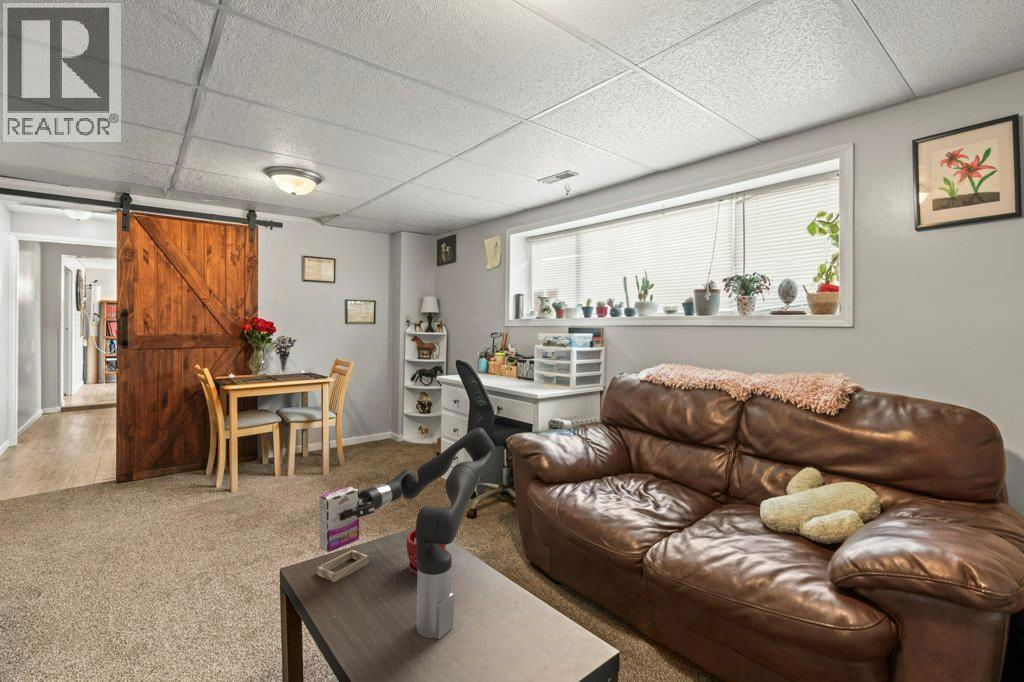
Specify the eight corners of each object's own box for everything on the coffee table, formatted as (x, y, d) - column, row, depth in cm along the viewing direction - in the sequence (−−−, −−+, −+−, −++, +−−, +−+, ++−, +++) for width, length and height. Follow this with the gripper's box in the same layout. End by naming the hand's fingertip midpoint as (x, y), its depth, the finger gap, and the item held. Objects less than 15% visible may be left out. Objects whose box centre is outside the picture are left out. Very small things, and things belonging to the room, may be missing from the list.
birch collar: (369, 563, 163) (369, 556, 163) (334, 582, 151) (334, 574, 151) (352, 556, 168) (352, 549, 167) (316, 574, 155) (316, 567, 155)
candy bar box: (350, 535, 154) (350, 485, 153) (359, 540, 151) (360, 489, 150) (318, 548, 145) (318, 495, 145) (327, 553, 142) (327, 499, 142)
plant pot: (402, 563, 163) (402, 529, 163) (439, 556, 169) (440, 523, 168) (411, 583, 151) (411, 546, 151) (450, 575, 157) (451, 539, 156)
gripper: (390, 513, 157) (349, 532, 142) (360, 504, 164) (318, 521, 150) (390, 490, 157) (349, 507, 142) (360, 482, 164) (318, 498, 149)
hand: (333, 514), depth 146 cm, fingers closed on candy bar box, 5 cm apart
